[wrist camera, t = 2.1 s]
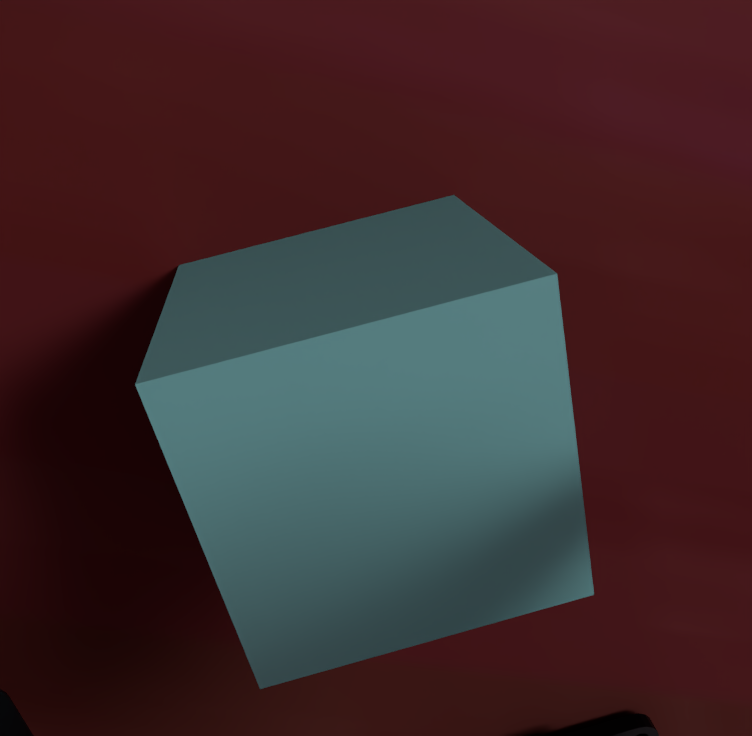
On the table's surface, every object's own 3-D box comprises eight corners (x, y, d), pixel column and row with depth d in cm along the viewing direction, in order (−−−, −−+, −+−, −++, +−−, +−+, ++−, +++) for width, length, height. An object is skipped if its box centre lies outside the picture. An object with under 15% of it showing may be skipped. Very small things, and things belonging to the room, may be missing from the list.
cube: (493, 429, 15) (593, 594, 10) (260, 493, 15) (259, 689, 10) (452, 194, 13) (556, 274, 8) (179, 263, 13) (134, 384, 8)
